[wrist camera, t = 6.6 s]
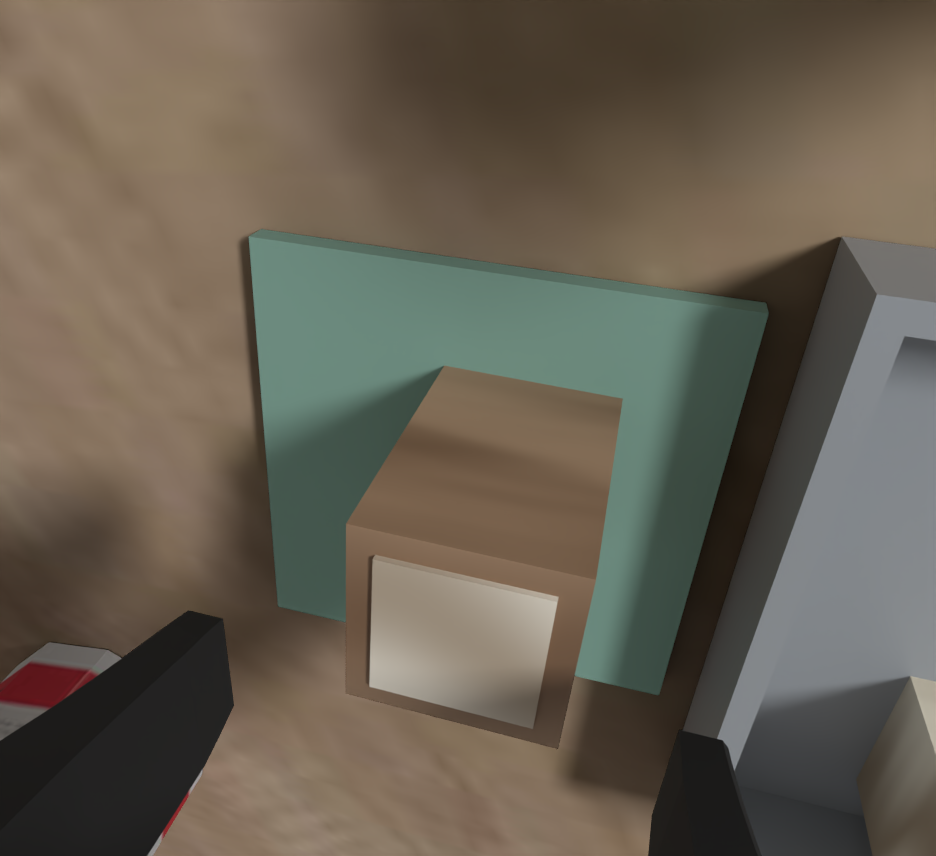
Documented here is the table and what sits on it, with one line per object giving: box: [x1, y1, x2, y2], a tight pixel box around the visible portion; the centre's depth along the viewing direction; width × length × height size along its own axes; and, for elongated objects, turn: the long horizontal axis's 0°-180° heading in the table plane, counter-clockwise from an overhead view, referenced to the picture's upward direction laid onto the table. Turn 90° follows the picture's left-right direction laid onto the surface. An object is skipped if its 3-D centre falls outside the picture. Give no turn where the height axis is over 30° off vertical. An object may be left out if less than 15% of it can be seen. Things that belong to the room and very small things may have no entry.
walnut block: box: [346, 366, 623, 749], centre depth 16 cm, size 4×4×6 cm
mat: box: [249, 229, 769, 696], centre depth 19 cm, size 11×11×1 cm
